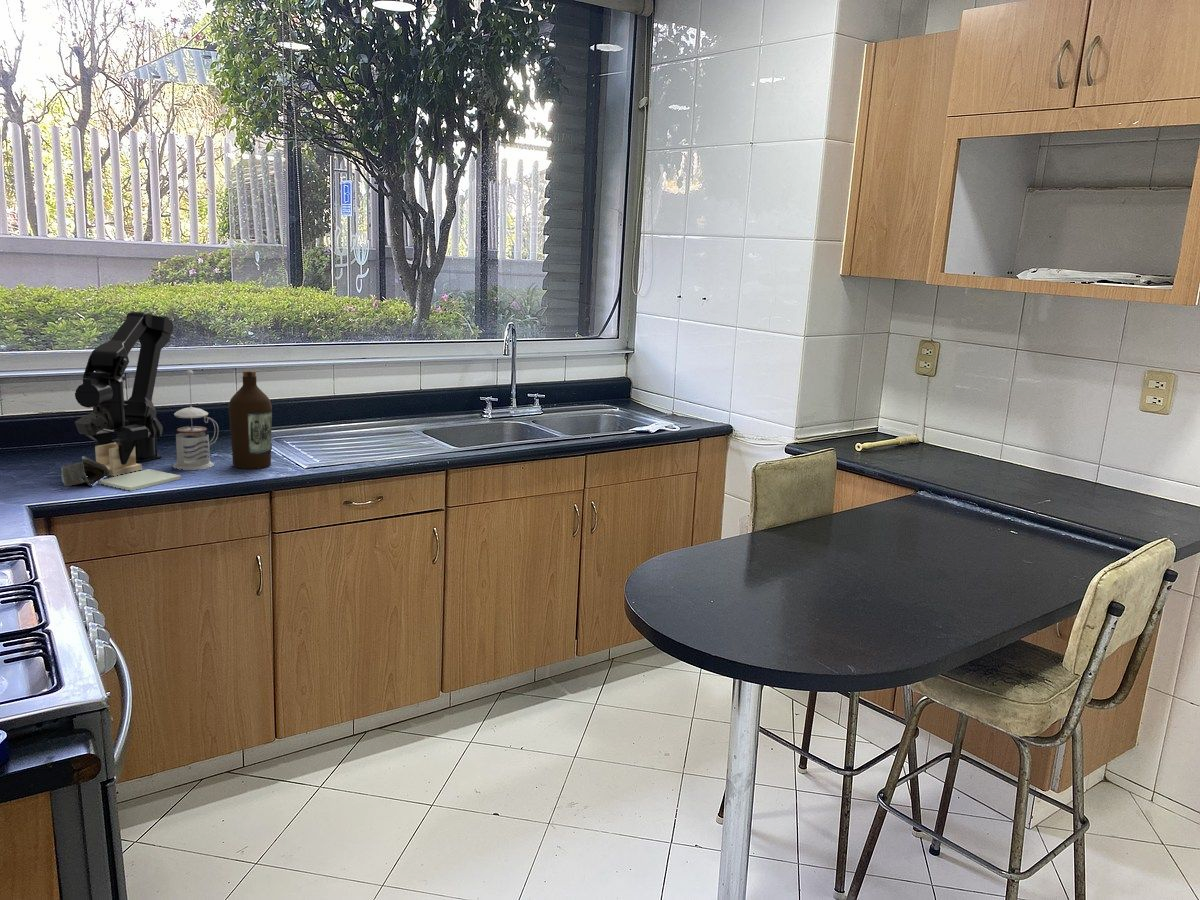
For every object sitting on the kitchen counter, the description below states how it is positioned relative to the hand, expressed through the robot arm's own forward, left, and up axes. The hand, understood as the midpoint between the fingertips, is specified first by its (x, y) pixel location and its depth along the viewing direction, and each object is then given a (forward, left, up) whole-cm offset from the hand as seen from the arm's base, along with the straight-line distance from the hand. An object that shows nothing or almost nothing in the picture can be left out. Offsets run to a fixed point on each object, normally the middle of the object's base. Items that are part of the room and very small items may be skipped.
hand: (114, 462), depth 223 cm
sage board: (+3, +13, -2) cm, 13 cm away
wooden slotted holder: (0, 0, -2) cm, 2 cm away
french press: (-16, +10, -2) cm, 19 cm away
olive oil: (-24, +21, -2) cm, 32 cm away
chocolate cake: (+10, +3, -3) cm, 11 cm away
